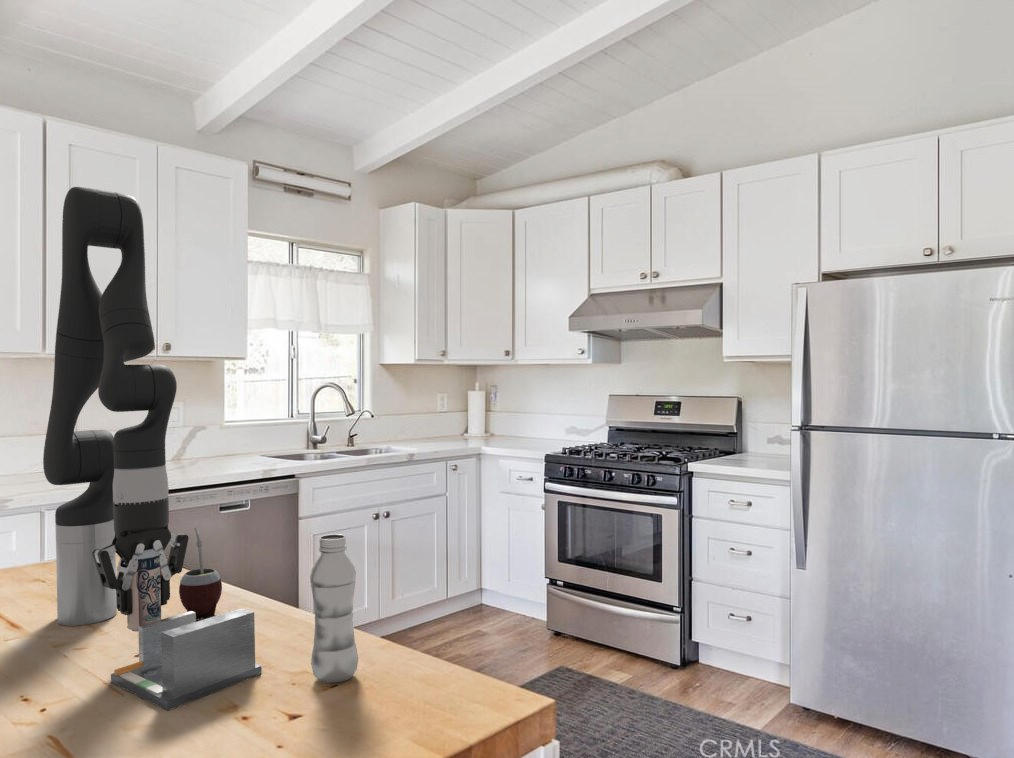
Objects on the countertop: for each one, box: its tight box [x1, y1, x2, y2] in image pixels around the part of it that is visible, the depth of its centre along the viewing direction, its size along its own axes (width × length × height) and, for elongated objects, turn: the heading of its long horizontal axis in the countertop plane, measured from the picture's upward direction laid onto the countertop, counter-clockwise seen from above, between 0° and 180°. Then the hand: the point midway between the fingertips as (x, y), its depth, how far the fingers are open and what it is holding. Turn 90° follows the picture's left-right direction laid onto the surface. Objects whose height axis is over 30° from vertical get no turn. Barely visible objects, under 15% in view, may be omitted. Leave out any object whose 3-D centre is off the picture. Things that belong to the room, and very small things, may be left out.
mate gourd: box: [178, 526, 223, 621], centre depth 133 cm, size 8×8×15 cm
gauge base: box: [110, 607, 263, 712], centre depth 106 cm, size 15×14×9 cm
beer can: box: [126, 549, 162, 633], centre depth 113 cm, size 5×5×12 cm
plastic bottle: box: [309, 533, 359, 684], centre depth 105 cm, size 6×7×20 cm
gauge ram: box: [113, 611, 197, 675], centre depth 107 cm, size 2×12×6 cm, turn 143°
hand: (143, 608), depth 113 cm, fingers closed on beer can, 4 cm apart
